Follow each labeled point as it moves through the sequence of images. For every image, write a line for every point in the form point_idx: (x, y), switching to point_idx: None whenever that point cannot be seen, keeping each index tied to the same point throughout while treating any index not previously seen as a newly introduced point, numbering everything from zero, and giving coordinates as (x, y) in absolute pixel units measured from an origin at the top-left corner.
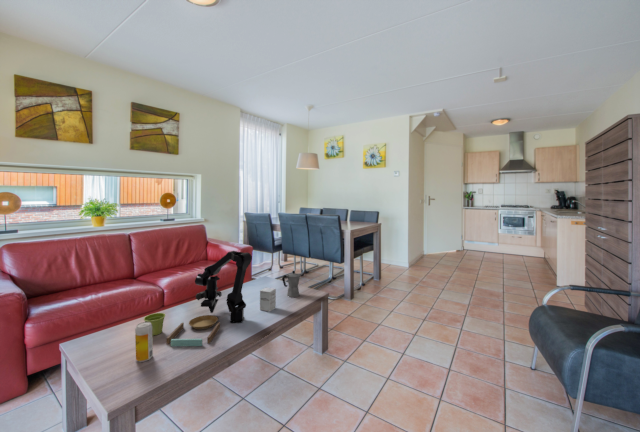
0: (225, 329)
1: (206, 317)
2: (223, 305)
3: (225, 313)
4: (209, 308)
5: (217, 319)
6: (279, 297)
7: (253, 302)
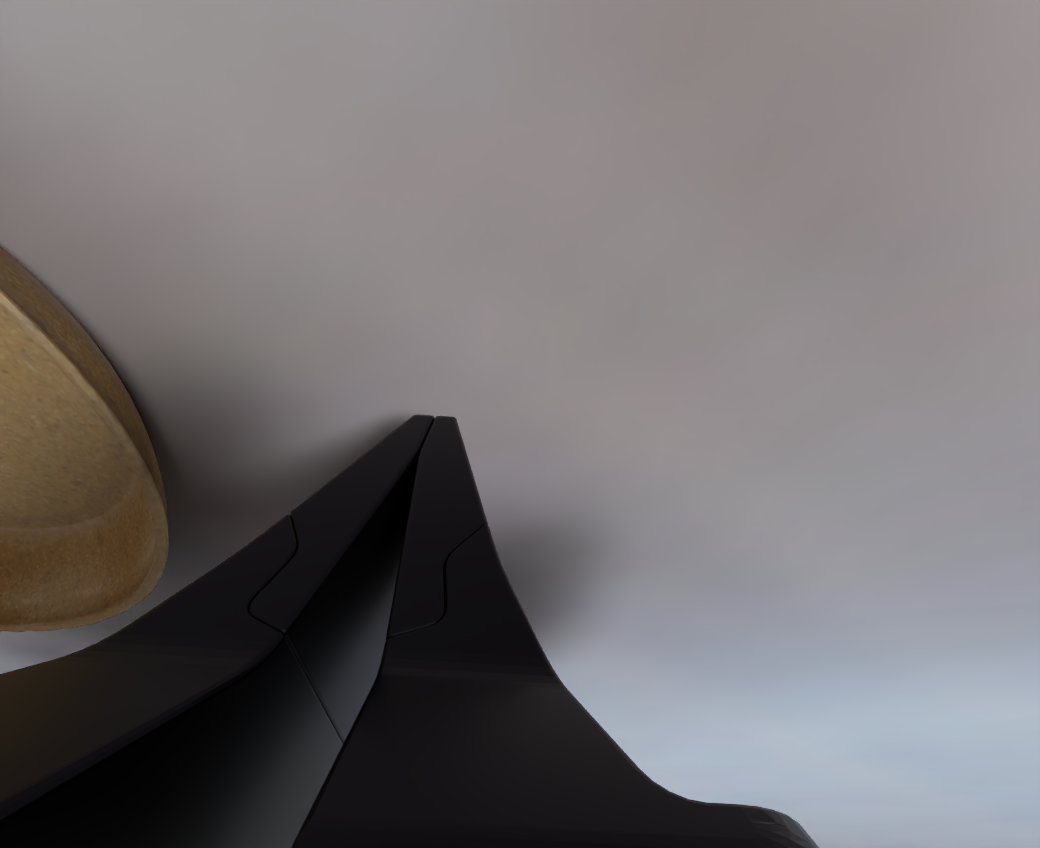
0: (8, 644)
1: (103, 381)
2: (1002, 509)
3: (515, 589)
4: (298, 516)
5: (42, 624)
6: (867, 845)
7: (850, 760)
